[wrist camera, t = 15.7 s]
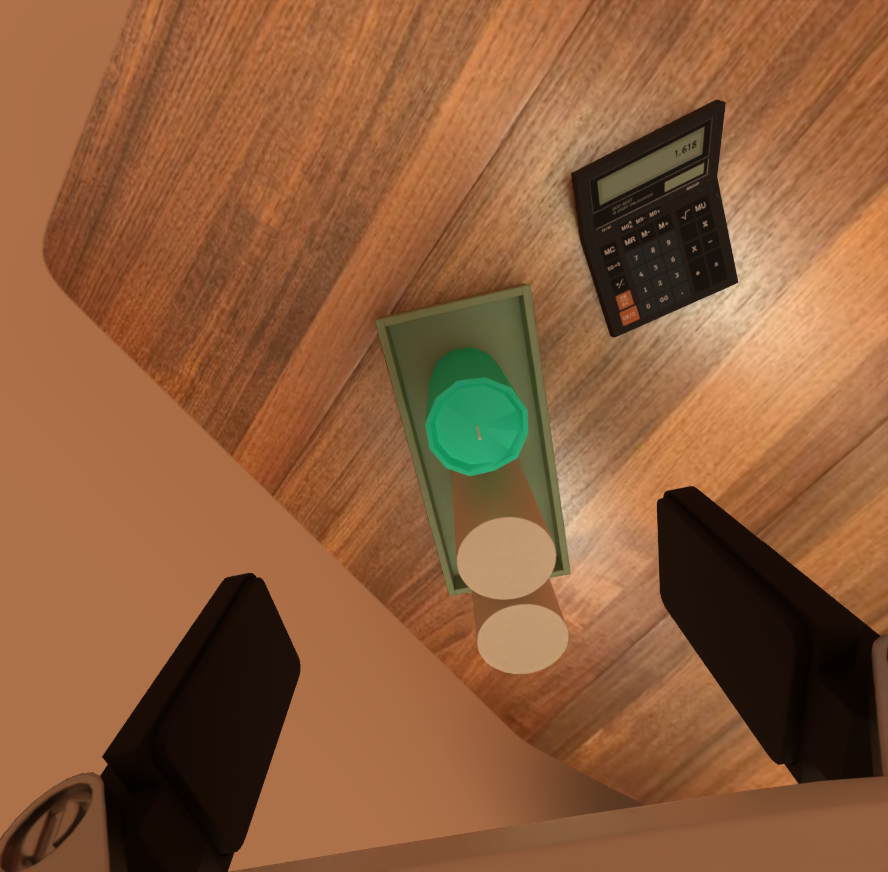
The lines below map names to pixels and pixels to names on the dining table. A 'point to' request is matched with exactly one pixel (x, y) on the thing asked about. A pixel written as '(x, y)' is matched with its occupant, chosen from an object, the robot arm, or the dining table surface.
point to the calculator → (656, 221)
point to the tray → (517, 354)
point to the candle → (473, 413)
